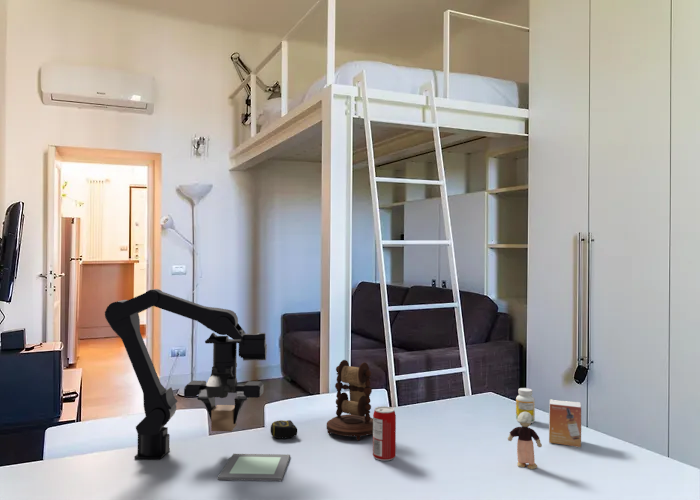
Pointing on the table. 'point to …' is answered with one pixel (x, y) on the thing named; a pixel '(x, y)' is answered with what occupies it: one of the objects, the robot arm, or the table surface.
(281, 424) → the tape measure
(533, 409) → the supplement bottle
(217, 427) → the cube
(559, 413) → the small box
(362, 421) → the wooden spool holder
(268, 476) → the mat
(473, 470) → the table surface
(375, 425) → the soda can
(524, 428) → the grandmother figurine
